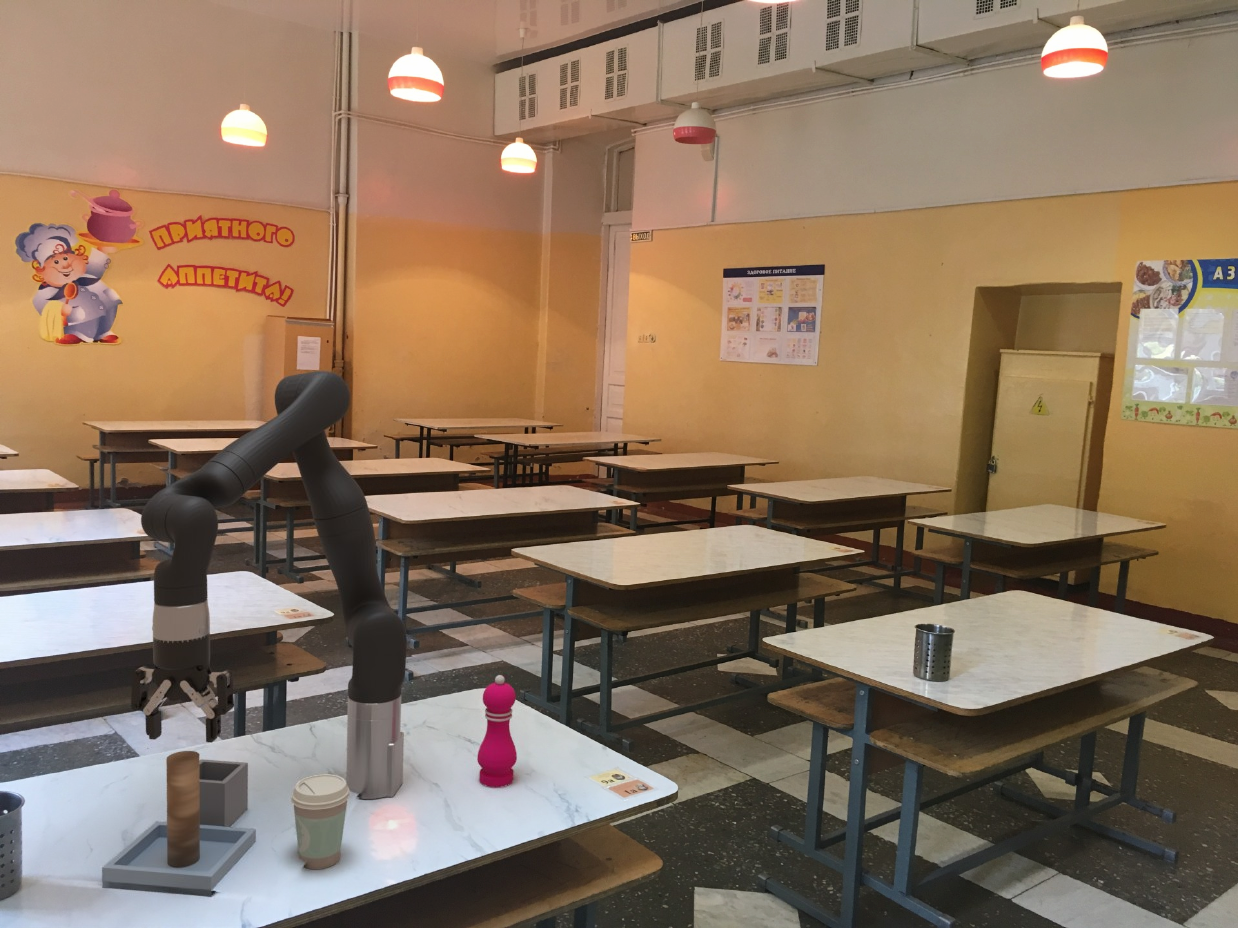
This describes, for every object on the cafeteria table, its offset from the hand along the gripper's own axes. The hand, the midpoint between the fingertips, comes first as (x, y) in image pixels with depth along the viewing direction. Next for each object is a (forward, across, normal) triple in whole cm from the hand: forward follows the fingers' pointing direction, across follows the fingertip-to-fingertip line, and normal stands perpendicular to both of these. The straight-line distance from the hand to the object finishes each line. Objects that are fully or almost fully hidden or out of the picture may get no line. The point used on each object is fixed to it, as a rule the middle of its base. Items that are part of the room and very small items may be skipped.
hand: (183, 738), depth 139 cm
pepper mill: (+21, -40, -37) cm, 58 cm away
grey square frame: (+20, +2, -13) cm, 24 cm away
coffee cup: (+20, -18, -5) cm, 28 cm away
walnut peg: (+19, 0, 0) cm, 19 cm away
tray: (+20, 0, 0) cm, 20 cm away
